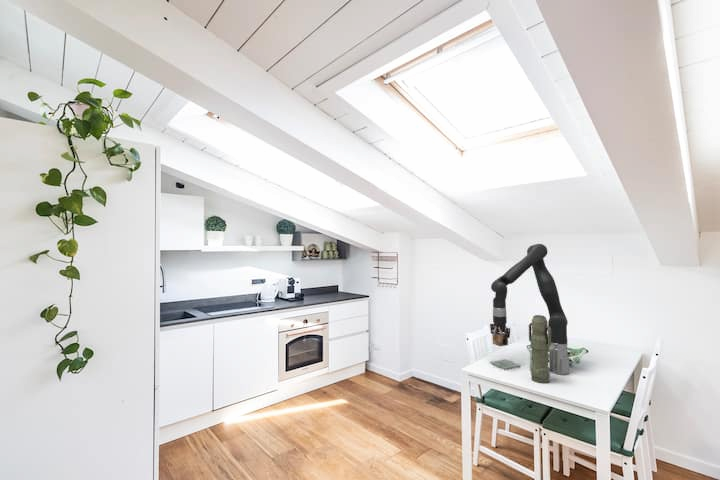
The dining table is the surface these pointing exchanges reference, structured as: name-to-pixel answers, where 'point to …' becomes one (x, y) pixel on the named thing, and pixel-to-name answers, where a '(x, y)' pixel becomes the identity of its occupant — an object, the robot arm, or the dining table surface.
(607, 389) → the dining table surface
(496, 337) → the walnut block
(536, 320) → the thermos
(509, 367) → the coaster
